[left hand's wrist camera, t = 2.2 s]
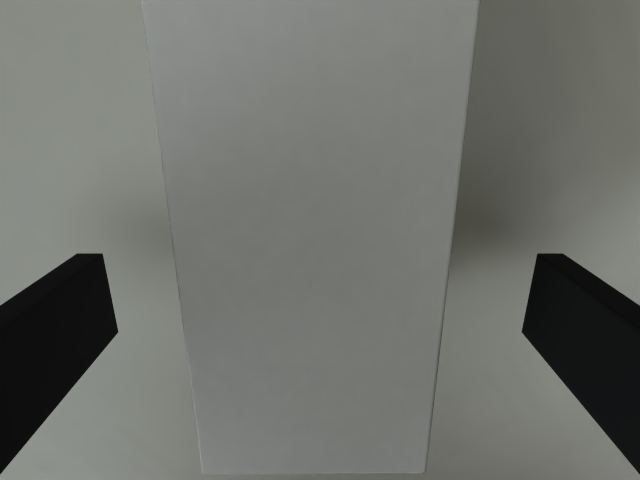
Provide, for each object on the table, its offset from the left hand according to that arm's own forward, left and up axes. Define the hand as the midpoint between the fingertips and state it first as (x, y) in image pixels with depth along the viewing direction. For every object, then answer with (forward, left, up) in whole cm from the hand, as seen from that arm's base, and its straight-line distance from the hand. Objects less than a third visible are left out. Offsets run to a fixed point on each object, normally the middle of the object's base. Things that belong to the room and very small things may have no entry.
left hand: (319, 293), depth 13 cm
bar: (+10, 0, -5) cm, 11 cm away
